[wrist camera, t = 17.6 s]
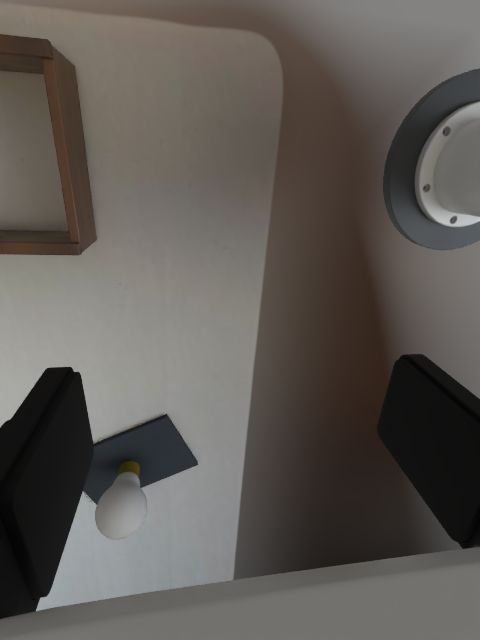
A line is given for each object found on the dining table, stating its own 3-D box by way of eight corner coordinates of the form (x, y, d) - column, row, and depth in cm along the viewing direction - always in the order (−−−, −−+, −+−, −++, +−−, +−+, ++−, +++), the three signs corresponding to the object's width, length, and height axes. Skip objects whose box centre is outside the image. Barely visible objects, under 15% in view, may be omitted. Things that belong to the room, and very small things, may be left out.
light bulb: (146, 443, 45) (135, 511, 36) (157, 473, 48) (150, 544, 39) (102, 452, 45) (81, 524, 36) (116, 482, 47) (99, 556, 38)
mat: (166, 413, 44) (166, 416, 44) (197, 461, 49) (197, 464, 48) (58, 458, 45) (56, 462, 44) (98, 502, 49) (97, 505, 49)
